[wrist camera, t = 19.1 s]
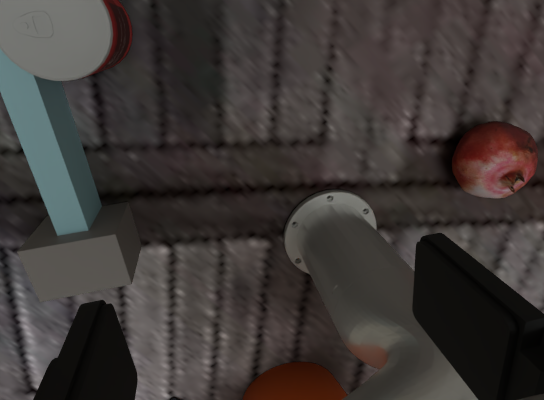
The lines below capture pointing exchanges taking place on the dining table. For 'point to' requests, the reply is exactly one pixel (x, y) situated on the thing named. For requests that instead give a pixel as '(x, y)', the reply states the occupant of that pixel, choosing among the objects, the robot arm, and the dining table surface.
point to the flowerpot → (295, 384)
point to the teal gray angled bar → (65, 197)
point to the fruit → (494, 159)
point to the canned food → (64, 36)
